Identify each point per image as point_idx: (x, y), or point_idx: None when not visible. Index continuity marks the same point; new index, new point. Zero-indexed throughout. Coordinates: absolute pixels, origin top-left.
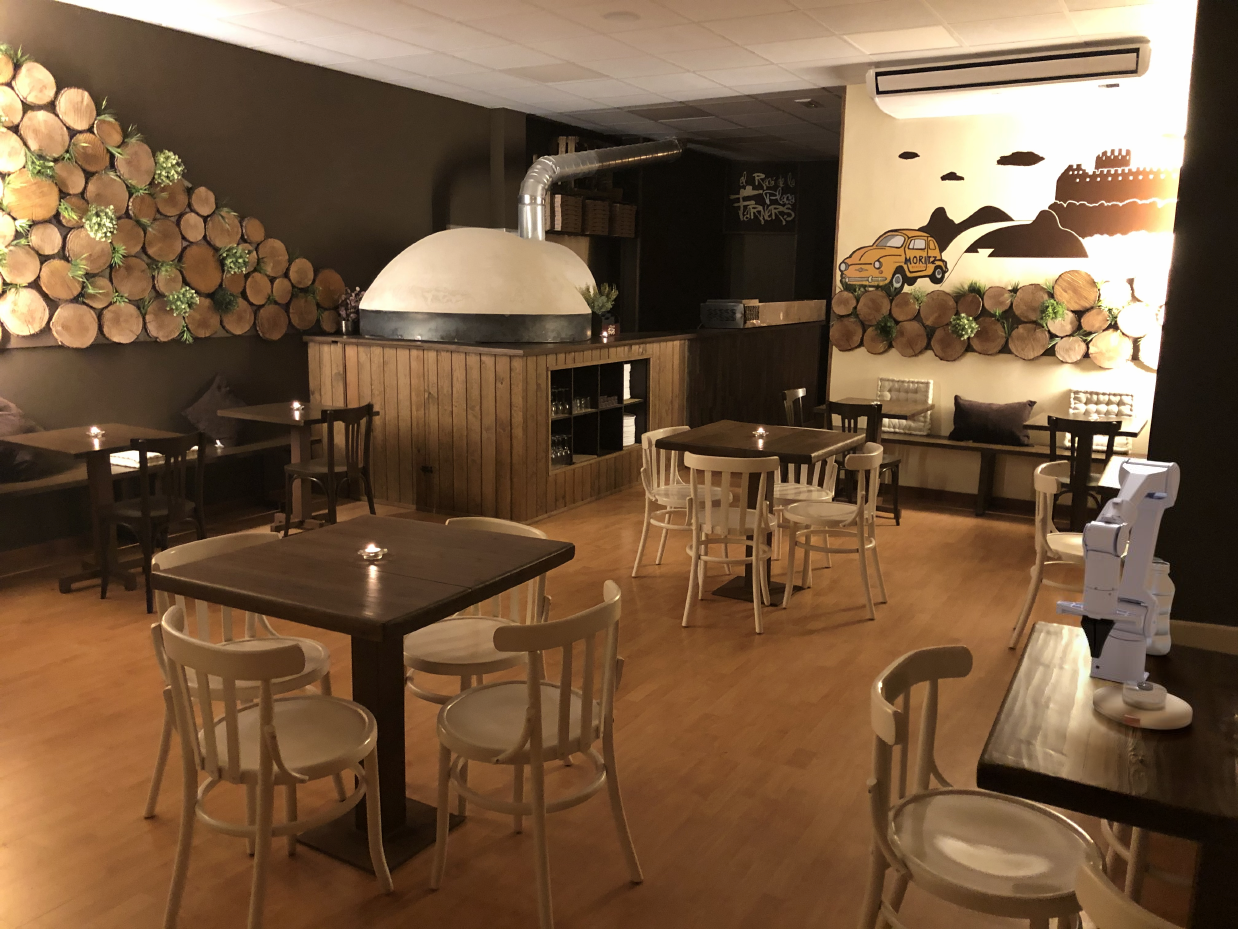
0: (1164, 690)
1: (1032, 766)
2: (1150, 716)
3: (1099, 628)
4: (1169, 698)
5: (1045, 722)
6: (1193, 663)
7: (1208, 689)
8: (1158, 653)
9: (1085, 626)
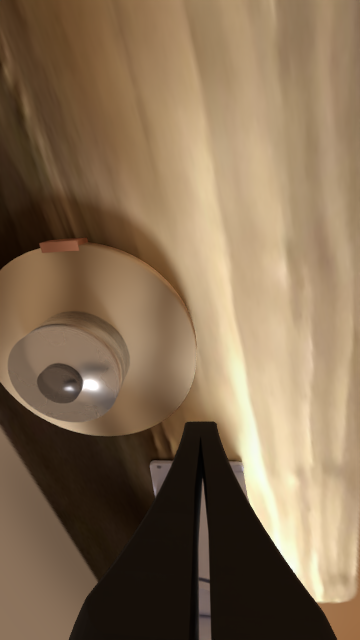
0: (21, 390)
1: None
2: (33, 283)
3: (158, 612)
4: None
5: (273, 124)
6: None
7: (71, 498)
8: None
9: (284, 612)
